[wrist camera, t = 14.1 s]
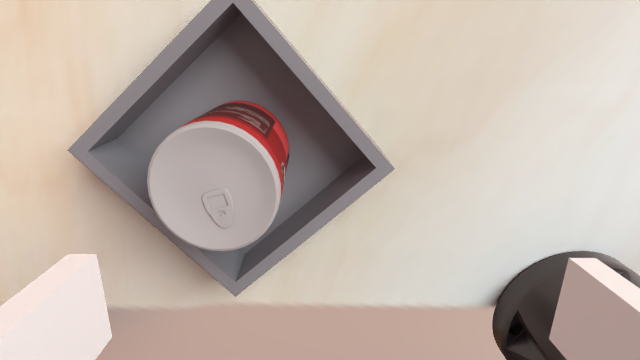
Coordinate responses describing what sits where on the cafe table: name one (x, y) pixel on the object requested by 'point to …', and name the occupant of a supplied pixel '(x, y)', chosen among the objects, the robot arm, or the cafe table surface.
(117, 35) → the cafe table surface
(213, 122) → the canned food
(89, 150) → the box
